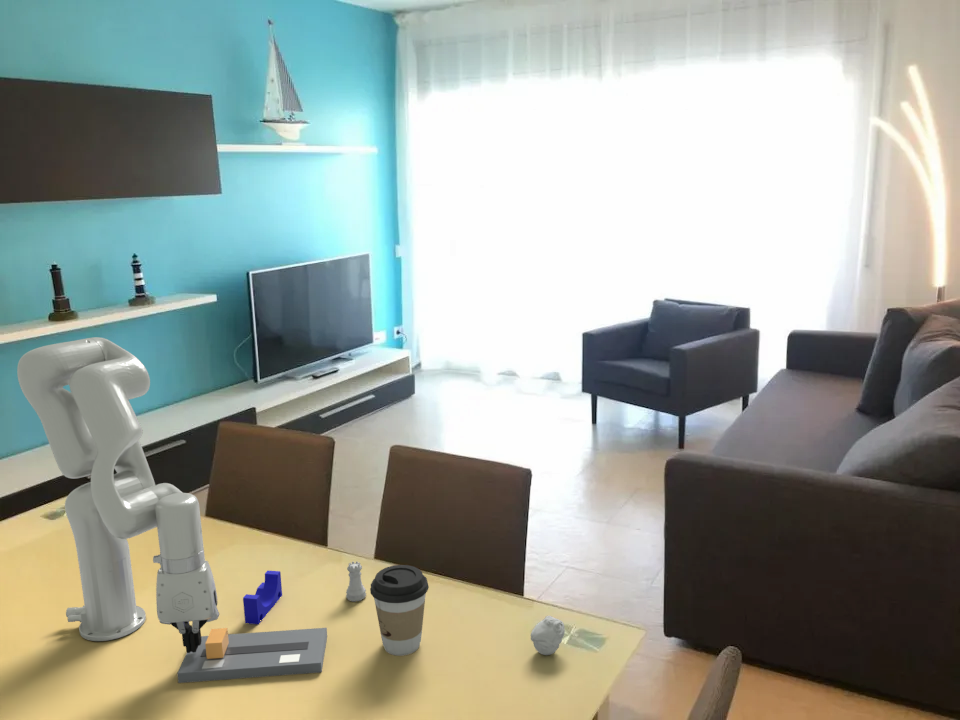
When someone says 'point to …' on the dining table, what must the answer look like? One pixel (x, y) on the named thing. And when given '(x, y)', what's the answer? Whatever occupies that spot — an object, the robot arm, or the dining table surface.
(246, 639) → the switch panel
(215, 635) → the switch knob
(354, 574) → the rook chess piece
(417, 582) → the coffee cup
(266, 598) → the blue curved stepped piece
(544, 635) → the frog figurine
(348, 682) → the dining table surface
